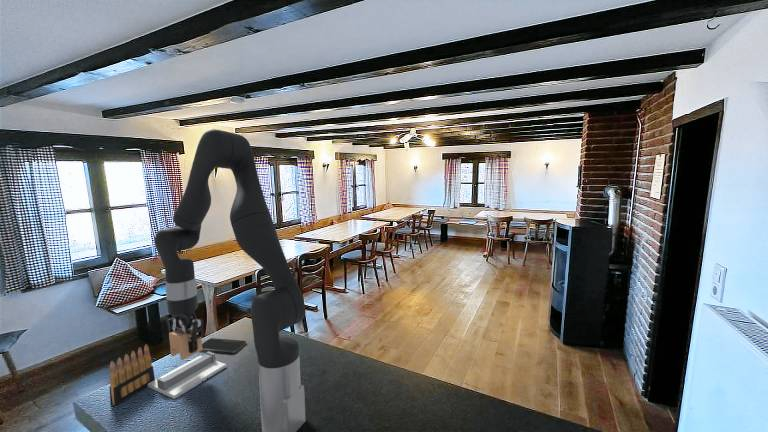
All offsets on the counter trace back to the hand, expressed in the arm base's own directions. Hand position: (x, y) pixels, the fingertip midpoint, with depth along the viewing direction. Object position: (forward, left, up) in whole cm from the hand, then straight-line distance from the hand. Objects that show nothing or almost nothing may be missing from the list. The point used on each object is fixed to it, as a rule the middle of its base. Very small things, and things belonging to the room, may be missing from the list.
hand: (186, 349), depth 95 cm
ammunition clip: (+7, +11, -9) cm, 16 cm away
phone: (+6, -16, -9) cm, 19 cm away
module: (0, 0, -1) cm, 1 cm away
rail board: (0, 0, -9) cm, 9 cm away
